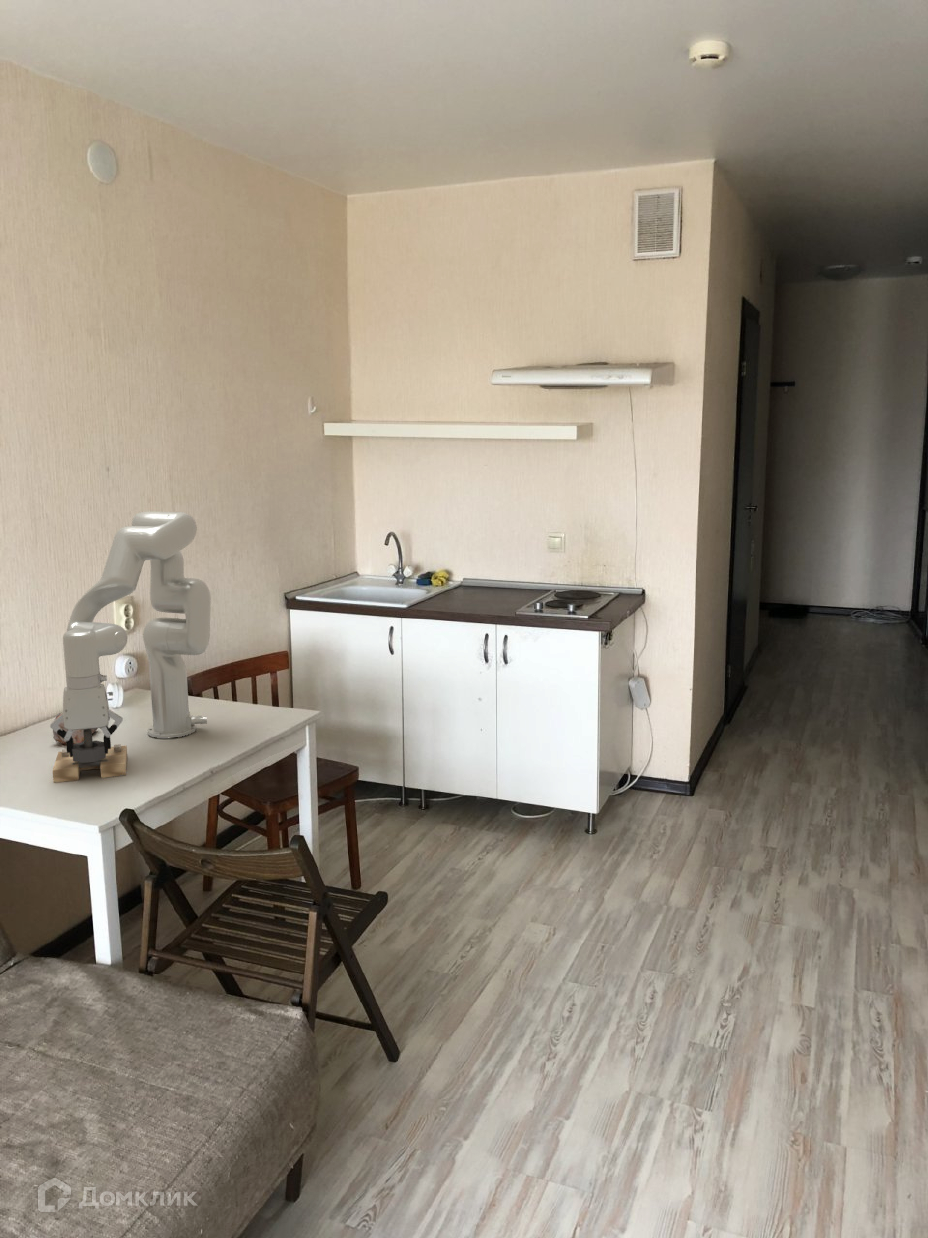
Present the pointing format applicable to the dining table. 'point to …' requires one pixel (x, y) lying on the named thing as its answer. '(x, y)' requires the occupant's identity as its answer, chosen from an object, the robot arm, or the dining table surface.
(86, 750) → the faceted grey ring
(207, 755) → the dining table surface
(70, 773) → the toggle switch panel
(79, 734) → the food item
